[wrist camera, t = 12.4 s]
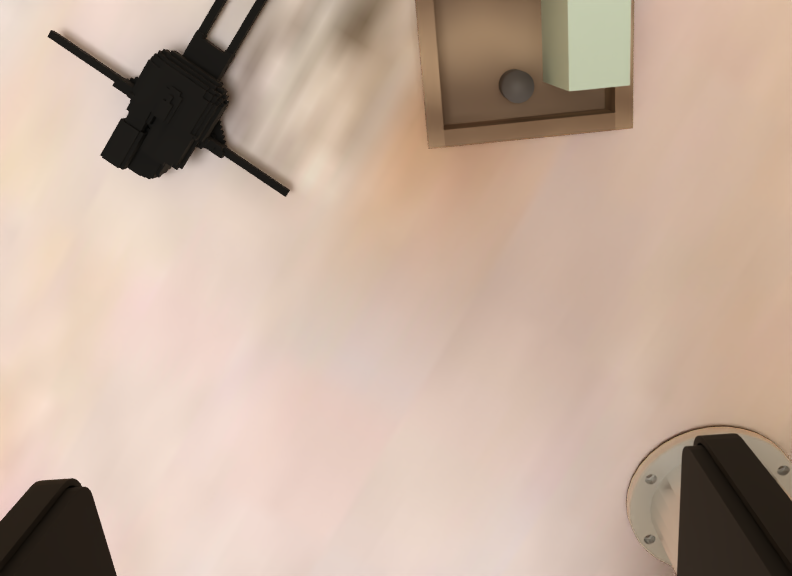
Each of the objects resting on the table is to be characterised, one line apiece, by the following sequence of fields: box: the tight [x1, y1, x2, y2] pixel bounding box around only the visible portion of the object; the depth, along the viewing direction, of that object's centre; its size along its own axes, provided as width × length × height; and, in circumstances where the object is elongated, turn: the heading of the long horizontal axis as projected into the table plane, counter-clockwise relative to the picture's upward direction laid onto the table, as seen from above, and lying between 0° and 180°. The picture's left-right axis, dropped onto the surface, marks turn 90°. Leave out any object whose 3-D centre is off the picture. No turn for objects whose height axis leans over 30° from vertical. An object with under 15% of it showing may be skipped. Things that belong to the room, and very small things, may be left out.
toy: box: [48, 0, 290, 197], centre depth 42 cm, size 17×5×15 cm
